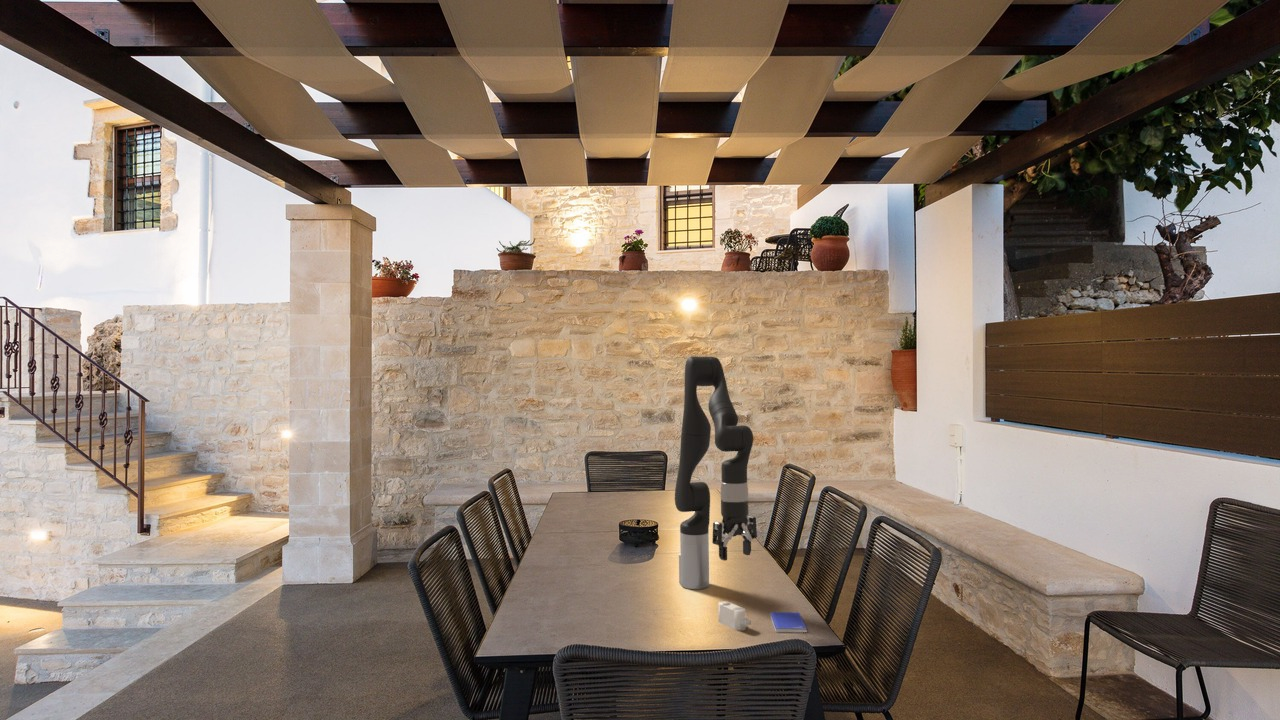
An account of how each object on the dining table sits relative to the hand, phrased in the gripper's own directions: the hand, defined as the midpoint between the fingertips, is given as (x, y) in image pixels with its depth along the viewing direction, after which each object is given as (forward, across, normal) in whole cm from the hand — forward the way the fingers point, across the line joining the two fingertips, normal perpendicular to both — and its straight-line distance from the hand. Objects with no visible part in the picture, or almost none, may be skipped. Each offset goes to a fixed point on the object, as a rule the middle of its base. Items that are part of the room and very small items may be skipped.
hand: (735, 557), depth 191 cm
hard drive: (+19, -12, +8) cm, 24 cm away
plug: (+18, +1, 0) cm, 19 cm away
